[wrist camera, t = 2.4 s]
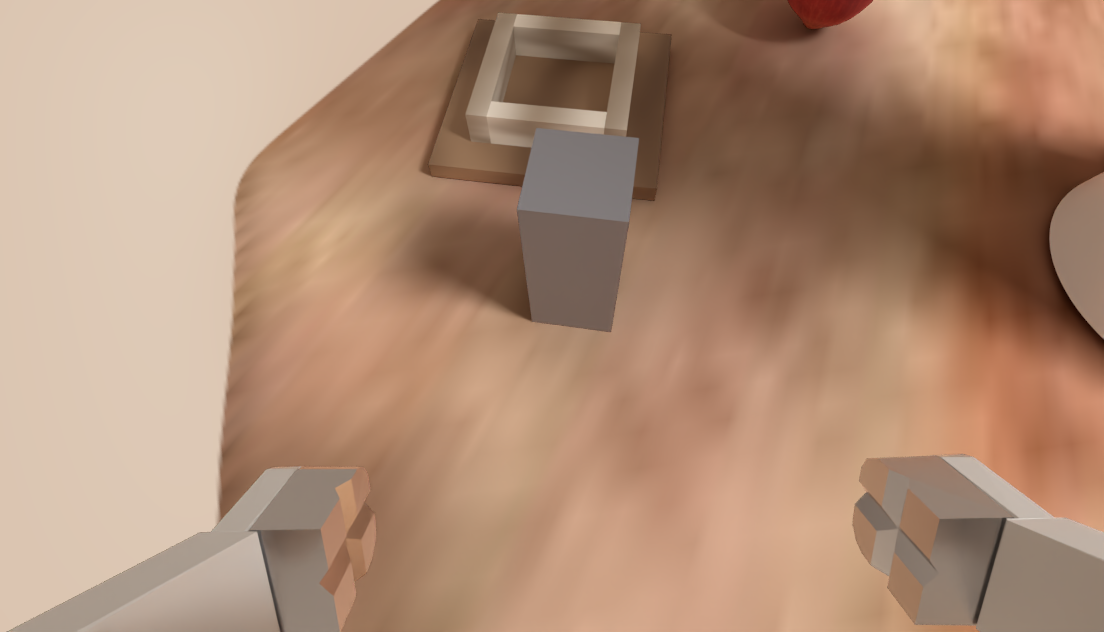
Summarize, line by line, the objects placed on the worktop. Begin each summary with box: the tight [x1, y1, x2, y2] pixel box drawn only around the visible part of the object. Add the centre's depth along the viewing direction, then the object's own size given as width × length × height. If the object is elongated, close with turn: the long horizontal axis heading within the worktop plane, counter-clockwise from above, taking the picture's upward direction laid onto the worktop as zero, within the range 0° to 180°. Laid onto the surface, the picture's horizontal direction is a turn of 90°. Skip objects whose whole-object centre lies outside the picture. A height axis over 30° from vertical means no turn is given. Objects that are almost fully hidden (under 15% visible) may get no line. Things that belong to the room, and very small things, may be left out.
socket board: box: [428, 13, 671, 201], centre depth 33 cm, size 13×13×3 cm
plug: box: [517, 128, 639, 332], centre depth 24 cm, size 4×4×9 cm
